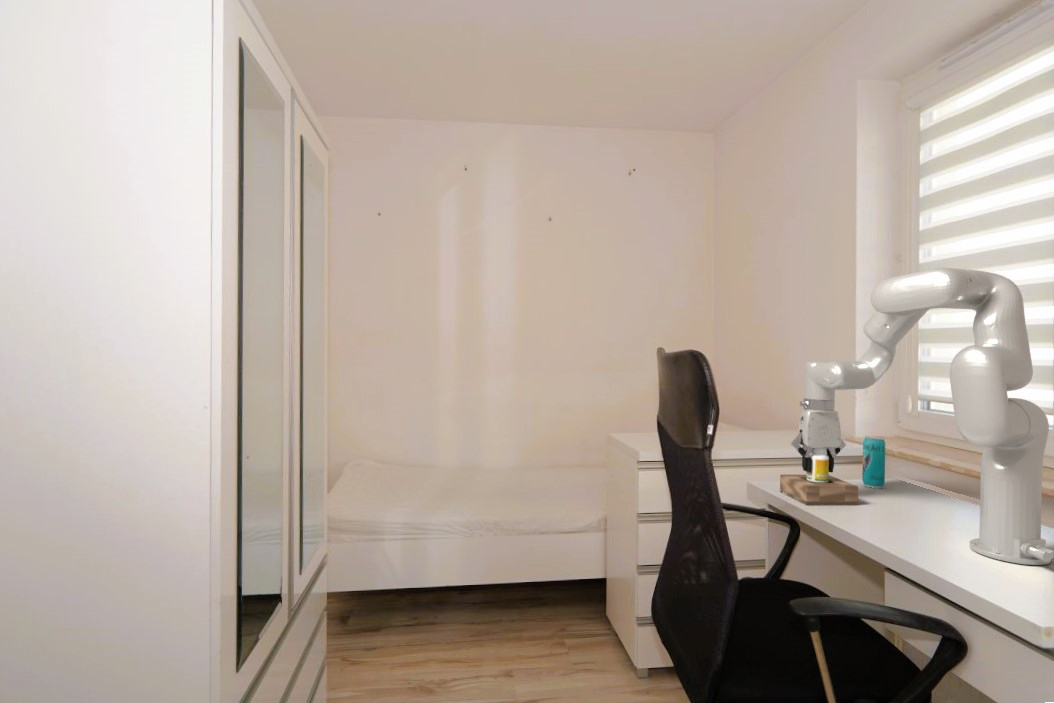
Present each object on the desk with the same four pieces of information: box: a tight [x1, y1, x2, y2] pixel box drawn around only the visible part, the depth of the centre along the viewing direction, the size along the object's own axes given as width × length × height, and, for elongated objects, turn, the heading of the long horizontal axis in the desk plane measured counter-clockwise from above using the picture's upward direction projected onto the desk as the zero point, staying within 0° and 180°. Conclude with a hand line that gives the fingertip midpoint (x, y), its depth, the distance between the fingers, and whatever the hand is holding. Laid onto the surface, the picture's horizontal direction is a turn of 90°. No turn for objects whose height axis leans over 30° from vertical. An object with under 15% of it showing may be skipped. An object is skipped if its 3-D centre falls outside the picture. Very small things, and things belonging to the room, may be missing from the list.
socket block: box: [779, 474, 859, 506], centre depth 158 cm, size 14×14×5 cm
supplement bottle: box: [806, 448, 830, 483], centre depth 158 cm, size 5×5×10 cm
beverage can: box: [861, 435, 886, 489], centre depth 172 cm, size 6×6×15 cm
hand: (817, 470), depth 158 cm, fingers closed on supplement bottle, 5 cm apart
